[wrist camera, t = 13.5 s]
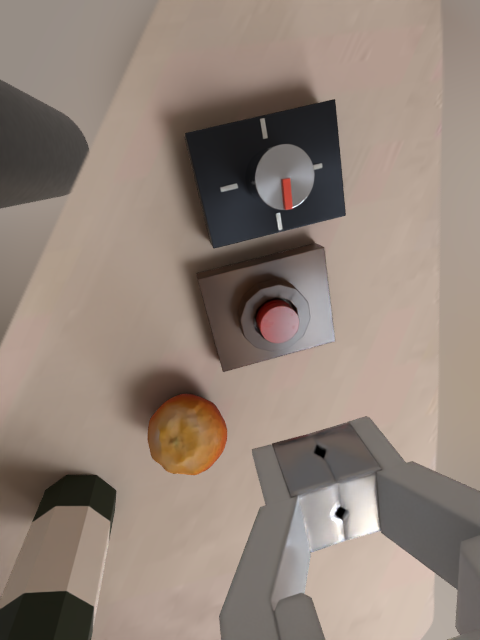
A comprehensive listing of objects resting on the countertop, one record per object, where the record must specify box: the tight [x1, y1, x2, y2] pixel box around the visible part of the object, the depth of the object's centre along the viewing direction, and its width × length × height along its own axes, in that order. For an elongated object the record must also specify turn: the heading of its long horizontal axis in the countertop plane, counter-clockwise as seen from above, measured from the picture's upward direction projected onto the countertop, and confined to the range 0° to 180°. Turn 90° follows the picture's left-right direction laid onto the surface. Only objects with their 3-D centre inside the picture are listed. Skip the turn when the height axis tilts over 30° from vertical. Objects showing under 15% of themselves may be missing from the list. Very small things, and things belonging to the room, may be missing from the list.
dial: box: [245, 144, 314, 210], centre depth 27 cm, size 4×4×4 cm
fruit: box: [148, 394, 227, 475], centre depth 38 cm, size 8×8×8 cm
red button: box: [256, 300, 299, 343], centre depth 33 cm, size 4×4×2 cm
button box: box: [197, 243, 335, 372], centre depth 35 cm, size 12×10×4 cm
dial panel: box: [184, 99, 346, 248], centre depth 31 cm, size 12×9×3 cm
